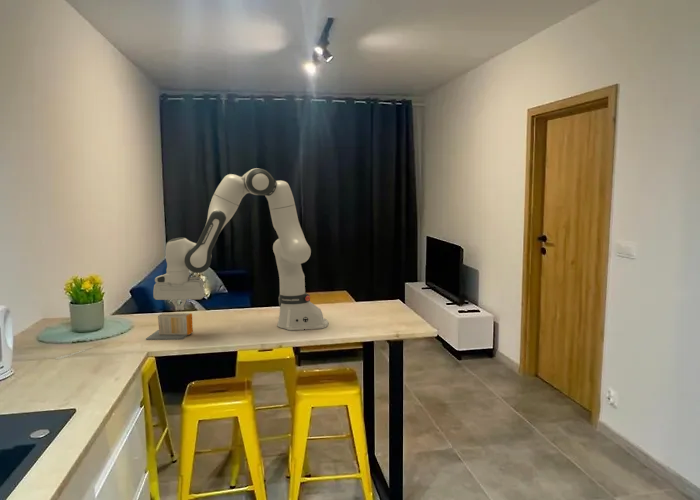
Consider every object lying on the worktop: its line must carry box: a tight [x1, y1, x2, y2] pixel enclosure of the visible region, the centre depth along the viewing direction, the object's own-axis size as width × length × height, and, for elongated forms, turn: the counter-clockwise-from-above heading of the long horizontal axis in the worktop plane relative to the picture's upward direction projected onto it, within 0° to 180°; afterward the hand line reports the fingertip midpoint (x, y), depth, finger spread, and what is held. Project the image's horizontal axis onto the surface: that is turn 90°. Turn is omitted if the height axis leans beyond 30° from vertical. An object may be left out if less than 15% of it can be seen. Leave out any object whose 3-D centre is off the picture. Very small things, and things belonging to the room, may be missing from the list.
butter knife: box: [55, 349, 86, 360], centre depth 197 cm, size 1×24×3 cm
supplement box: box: [157, 312, 194, 336], centre depth 216 cm, size 8×5×13 cm
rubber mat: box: [145, 329, 188, 341], centre depth 216 cm, size 15×13×1 cm
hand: (179, 309), depth 214 cm, fingers closed
